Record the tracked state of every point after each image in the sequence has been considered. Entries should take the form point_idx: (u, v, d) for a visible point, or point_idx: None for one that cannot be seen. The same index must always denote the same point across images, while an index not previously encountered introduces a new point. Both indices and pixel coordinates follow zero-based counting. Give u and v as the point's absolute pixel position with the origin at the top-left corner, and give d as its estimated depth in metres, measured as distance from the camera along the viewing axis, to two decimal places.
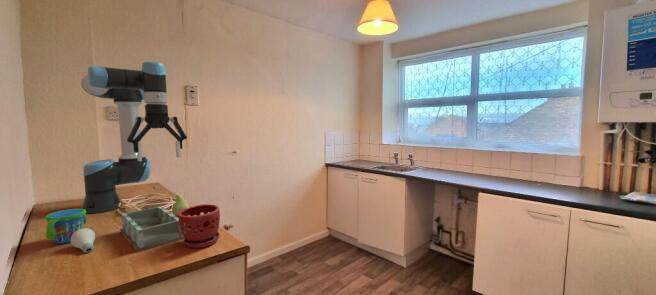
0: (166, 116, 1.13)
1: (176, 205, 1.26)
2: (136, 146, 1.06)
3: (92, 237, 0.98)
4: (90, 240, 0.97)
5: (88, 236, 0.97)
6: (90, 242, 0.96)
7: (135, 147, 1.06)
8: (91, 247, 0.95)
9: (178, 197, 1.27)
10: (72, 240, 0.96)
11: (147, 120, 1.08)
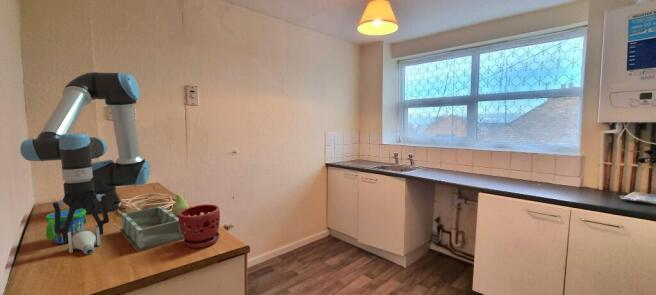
0: (91, 193, 0.97)
1: (176, 205, 1.26)
2: (65, 236, 0.93)
3: (93, 238, 0.97)
4: (91, 241, 0.95)
5: (89, 237, 0.96)
6: (91, 243, 0.95)
7: (64, 237, 0.93)
8: (92, 248, 0.93)
9: (178, 197, 1.27)
10: (73, 241, 0.94)
11: (66, 202, 0.93)
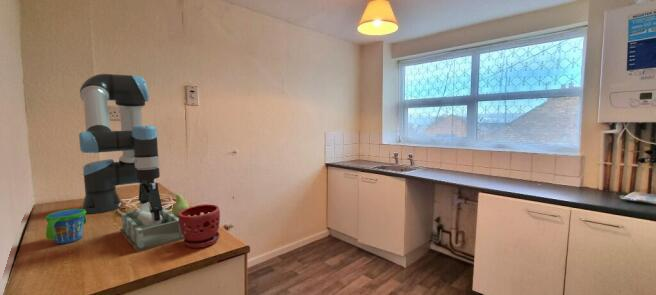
0: (147, 182, 1.04)
1: (176, 205, 1.26)
2: None
3: (149, 213, 1.10)
4: None
5: None
6: (142, 211, 1.10)
7: None
8: None
9: (178, 197, 1.27)
10: None
11: (142, 183, 1.08)
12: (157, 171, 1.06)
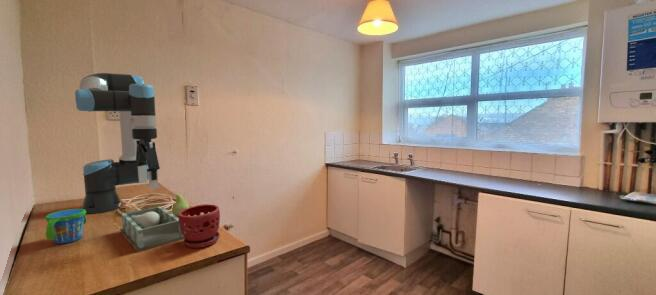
0: (144, 141, 1.02)
1: (176, 205, 1.26)
2: None
3: None
4: None
5: None
6: None
7: None
8: None
9: (178, 197, 1.27)
10: None
11: (139, 144, 1.07)
12: (154, 131, 1.04)
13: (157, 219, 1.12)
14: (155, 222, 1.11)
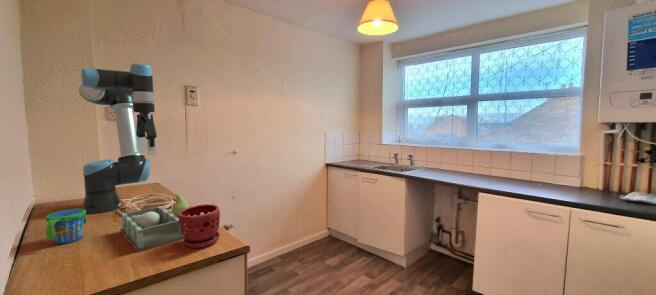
0: (143, 114, 1.18)
1: (176, 205, 1.26)
2: None
3: None
4: None
5: None
6: None
7: None
8: None
9: (178, 197, 1.27)
10: None
11: None
12: (152, 105, 1.20)
13: (157, 219, 1.12)
14: (155, 222, 1.11)
